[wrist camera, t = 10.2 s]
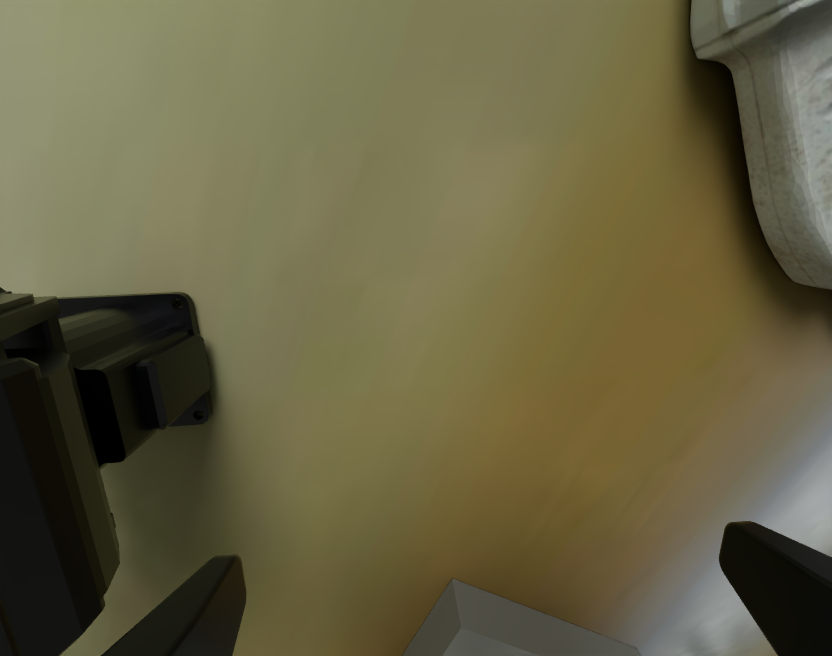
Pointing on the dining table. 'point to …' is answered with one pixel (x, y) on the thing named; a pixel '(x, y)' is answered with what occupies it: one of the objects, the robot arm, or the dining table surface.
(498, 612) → the grey rectangular block
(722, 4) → the handheld device
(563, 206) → the dining table surface
